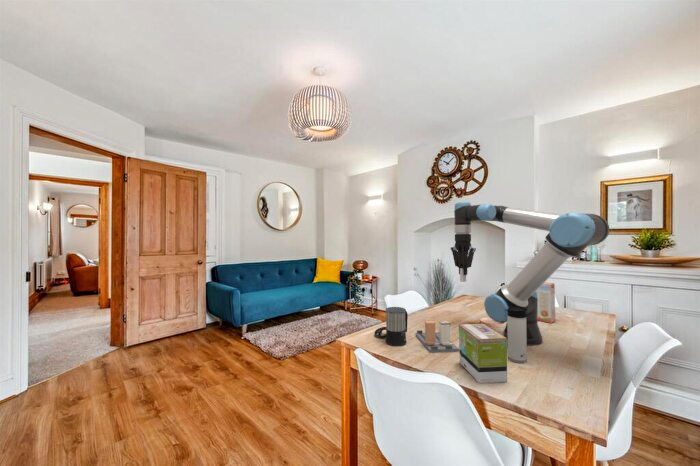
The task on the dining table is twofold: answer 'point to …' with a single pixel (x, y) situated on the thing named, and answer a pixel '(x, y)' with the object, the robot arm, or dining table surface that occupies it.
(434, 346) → the fader console
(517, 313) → the travel mug
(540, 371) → the dining table surface
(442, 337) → the ivory fader tab
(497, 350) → the tea box
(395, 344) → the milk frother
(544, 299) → the cracker box
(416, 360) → the dining table surface
